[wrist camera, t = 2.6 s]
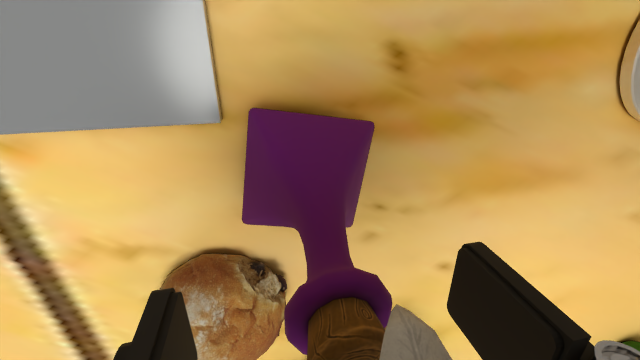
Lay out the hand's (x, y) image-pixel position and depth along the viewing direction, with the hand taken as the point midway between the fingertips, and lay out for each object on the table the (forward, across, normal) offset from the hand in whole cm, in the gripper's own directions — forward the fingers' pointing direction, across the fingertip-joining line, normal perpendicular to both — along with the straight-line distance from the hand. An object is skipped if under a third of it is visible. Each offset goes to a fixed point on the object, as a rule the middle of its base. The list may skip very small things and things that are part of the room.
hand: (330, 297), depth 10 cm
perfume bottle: (+13, -1, 0) cm, 13 cm away
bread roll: (+14, +6, +12) cm, 19 cm away
